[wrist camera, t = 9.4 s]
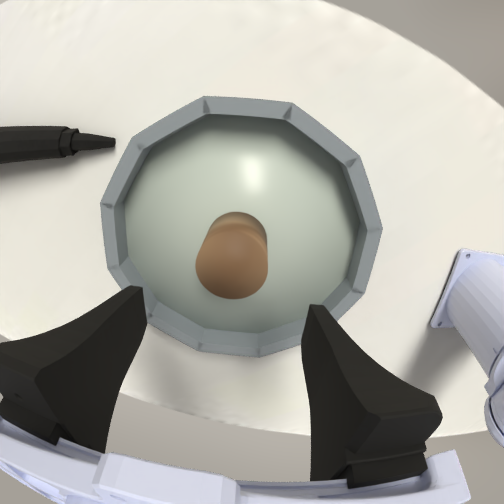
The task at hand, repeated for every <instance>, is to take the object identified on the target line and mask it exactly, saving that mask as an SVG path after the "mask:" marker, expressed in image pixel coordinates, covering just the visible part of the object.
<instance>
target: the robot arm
mask: <svg viewBox="0 0 504 504" xmlns="http://www.w3.org/2000/svg"><path fill="white" fill-rule="evenodd" d="M467 254H468V255H467ZM466 255H467V257H466ZM439 322H440V323H439ZM430 325H431V326H432V328H449V327H455V328H456V329H457V331H458V332H459V333H460V335H461V336H462V338H463V339H464V341H465V342H466V344H467V345H468V347H469V348H470V350H471V351H472V353H473V354H474V356H475V357H476V359H477V360H478V362H479V364H480V365H481V367H482V368H483V370H484V372H485V373H486V375H487V377H488V378H489V380H488V382H487V383H486V384H485V386H484V387H485V389H486V391H487V393H488V394H489V396H488V398H487V399H486V402H485V406H484V414H485V421H486V425H487V428H488V430H489V432H490V434H491V435H492V437H493V438H494V440H495V441H496V442H497V443H498V444H499V445H501V446H502V447H504V255H501V254H495V253H489V252H482V251H476V250H470V249H461V250H460V251H459V253H458V256H457V258H456V261H455V264H454V267H453V270H452V272H451V275H450V278H449V280H448V283H447V285H446V288H445V290H444V293H443V295H442V297H441V300H440V302H439V304H438V307H437V309H436V311H435V314H434V316H433V318H432V320H431V322H430ZM146 326H147V317H146V310H145V303H144V294H143V287H140V286H133V285H130V286H128V287H126V288H124V289H123V290H121V291H120V292H118V293H117V294H115V295H114V296H112V297H111V298H109V299H108V300H106V301H105V302H103V303H102V304H100V305H99V306H97V307H95V308H94V309H92V310H91V311H89V312H87V313H86V314H84V315H82V316H80V317H79V318H77V319H75V320H73V321H71V322H69V323H67V324H65V325H63V326H60V327H58V328H55V329H53V330H50V331H47V332H45V333H42V334H39V335H36V336H32V337H28V338H24V339H20V340H15V341H9V342H2V343H0V393H1V394H2V395H3V399H2V401H1V402H0V469H2V470H3V471H4V472H6V473H8V474H9V475H11V476H12V477H14V478H15V479H16V480H18V481H20V482H21V483H23V484H25V485H26V486H28V487H29V488H31V489H33V490H35V491H36V492H38V493H39V494H41V495H43V496H45V497H47V498H49V499H50V500H52V501H54V502H56V503H58V504H463V503H465V502H466V501H468V500H469V499H470V498H471V496H470V492H469V489H468V486H467V483H466V480H465V477H464V474H463V471H462V468H461V465H460V462H459V459H458V457H457V454H456V451H455V450H454V449H452V450H449V451H445V452H442V453H438V454H435V455H432V456H430V457H428V458H426V459H425V457H424V454H423V452H425V451H426V445H425V441H426V440H427V439H428V438H429V437H430V436H431V435H432V433H433V432H434V431H435V430H436V429H437V428H438V426H439V425H440V423H441V421H442V418H443V416H442V412H441V410H440V408H439V406H438V403H437V401H436V399H435V397H434V396H433V395H431V394H428V393H426V392H424V391H422V390H420V389H417V388H415V387H413V386H411V385H410V384H408V383H406V382H404V381H403V380H401V379H399V378H398V377H396V376H395V375H393V374H392V373H390V372H389V371H387V370H386V369H385V368H383V367H382V366H381V365H379V364H378V363H377V362H376V361H374V360H373V359H372V358H371V357H370V356H369V355H367V354H366V353H365V352H364V351H363V350H362V349H361V348H360V347H359V346H358V345H357V344H356V343H355V342H354V341H353V340H352V339H351V338H350V336H349V335H348V334H347V333H346V332H345V331H344V330H343V328H342V327H341V326H340V325H339V324H338V322H337V321H336V320H335V319H334V317H333V316H332V315H331V314H330V312H329V311H328V310H327V309H326V307H325V306H324V305H316V304H310V305H309V309H308V314H307V318H306V322H305V326H304V330H303V334H302V338H301V352H302V363H303V369H304V375H305V381H306V386H307V392H308V398H309V405H310V419H311V472H310V474H311V475H310V482H256V481H240V480H234V479H232V478H229V477H227V476H224V475H222V474H217V473H212V472H208V471H202V470H195V469H189V468H183V467H177V466H172V465H167V464H162V463H158V462H153V461H149V460H145V459H141V458H137V457H133V456H129V455H125V454H119V453H114V452H111V453H106V454H105V449H106V443H107V437H108V432H109V427H110V422H111V419H112V415H113V411H114V407H115V403H116V400H117V397H118V394H119V391H120V387H121V385H122V382H123V380H124V378H125V375H126V373H127V371H128V369H129V367H130V365H131V363H132V361H133V359H134V357H135V355H136V352H137V350H138V348H139V346H140V344H141V342H142V339H143V336H144V333H145V330H146Z"/></svg>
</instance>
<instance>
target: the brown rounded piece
mask: <svg viewBox="0 0 504 504" xmlns="http://www.w3.org/2000/svg"><path fill="white" fill-rule="evenodd" d="M195 269H196V274H197V277H198V279H199V281H200V282H201V284H202V285H203V286H204V287H205V288H206V289H207V290H208V291H209V292H211V293H212V294H214V295H216V296H218V297H221V298H225V299H242V298H246V297H248V296H251V295H252V294H254V293H256V292H257V291H258V290H259V289H260V288H261V287H262V286H263V284H264V282H265V280H266V278H267V274H268V250H267V234H266V231H265V229H264V227H263V225H262V224H261V223H260V221H259V220H257V219H256V218H255V217H253V216H252V215H250V214H247V213H244V212H229V213H226V214H223V215H221V216H220V217H218V218H217V219H216V220H215V221H214V222H213V223H212V225H211V226H210V228H209V230H208V233H207V235H206V237H205V239H204V241H203V244H202V246H201V248H200V250H199V252H198V255H197V258H196V263H195Z"/></svg>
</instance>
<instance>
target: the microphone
mask: <svg viewBox="0 0 504 504" xmlns="http://www.w3.org/2000/svg"><path fill="white" fill-rule="evenodd" d="M114 145H115V138H111V137H105V136H99V135H93V134H85V133H79V130H78V129H70V128H68V127H65V126H11V127H0V164H2V163H10V162H18V161H28V160H38V159H50V158H65V157H66V156H73V155H74V154H75V153H77V152H78V151H81V150H93V149H100V148H108V147H114Z"/></svg>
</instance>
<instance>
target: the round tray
mask: <svg viewBox="0 0 504 504" xmlns="http://www.w3.org/2000/svg"><path fill="white" fill-rule="evenodd" d="M100 207H101V219H102V229H103V238H104V246H105V254H106V261H107V268H108V270H109V272H110V273H111V275H112V276H113V278H114V279H115V281H116V282H117V283H118V285H119V286H120V288H121V289H122V290H123V289H124V288H126V287H128V286H130V285H133V286H140V287H143V294H144V303H145V310H146V317H147V323H149V324H151V325H153V326H154V327H156V328H158V329H159V330H161V331H163V332H165V333H166V334H168V335H170V336H172V337H173V338H175V339H177V340H179V341H180V342H182V343H184V344H186V345H188V346H190V347H191V348H193V349H195V350H197V351H202V352H210V353H219V354H228V355H238V356H249V357H263V356H266V355H269V354H273V353H276V352H279V351H282V350H285V349H288V348H291V347H294V346H297V345H300V344H301V338H302V334H303V330H304V326H305V322H306V318H307V314H308V309H309V305H310V304H316V305H324V306H325V307H326V309H327V310H328V311H329V312H330V314H331V315H332V316H333V317H334V319H335V320H336V321H338V320H339V319H340V318H341V317H342V316H343V315H344V314H345V313H346V312H347V311H348V310H349V309H350V308H351V307H352V306H353V305H354V304H355V303H356V302H357V301H358V300H359V299H360V298H361V297H362V296H363V295H364V293H365V291H366V287H367V284H368V281H369V277H370V274H371V271H372V267H373V264H374V260H375V256H376V253H377V249H378V245H379V242H380V238H381V234H382V230H383V227H382V224H381V220H380V217H379V213H378V210H377V206H376V203H375V200H374V197H373V193H372V190H371V187H370V184H369V181H368V178H367V175H366V172H365V169H364V166H363V163H362V160H361V158H360V156H359V155H358V154H357V153H356V152H355V151H354V150H352V149H351V148H350V147H349V146H348V145H346V144H345V143H344V142H343V141H342V140H340V139H339V138H338V137H337V136H336V135H334V134H333V133H332V132H331V131H329V130H328V129H327V128H326V127H324V126H323V125H322V124H320V123H319V122H318V121H317V120H315V119H314V118H313V117H311V116H310V115H309V114H307V113H306V112H305V111H303V110H302V109H300V108H299V107H298V106H296V105H295V104H294V103H290V102H282V101H273V100H263V99H251V98H237V97H216V96H203V97H201V98H199V99H197V100H195V101H193V102H191V103H190V104H188V105H186V106H184V107H182V108H180V109H179V110H177V111H175V112H173V113H171V114H170V115H168V116H166V117H164V118H163V119H161V120H159V121H158V122H156V123H154V124H153V125H151V126H149V127H148V128H146V129H144V130H143V131H141V132H140V133H138V134H136V135H135V136H133V137H132V138H131V140H130V142H129V144H128V146H127V148H126V150H125V152H124V154H123V155H122V157H121V159H120V161H119V163H118V165H117V167H116V170H115V172H114V174H113V176H112V178H111V180H110V182H109V184H108V186H107V189H106V191H105V193H104V195H103V198H102V200H101V202H100ZM229 212H244V213H247V214H250V215H252V216H253V217H255V218H256V219H257V220H259V221H260V223H261V224H262V225H263V227H264V229H265V231H266V234H267V250H268V274H267V278H266V280H265V282H264V284H263V286H262V287H261V288H260V289H259V290H258V291H257V292H256V293H254V294H252V295H251V296H248V297H246V298H242V299H225V298H221V297H218V296H216V295H214V294H212V293H211V292H209V291H208V290H207V289H206V288H205V287H204V286H203V285H202V284H201V282H200V281H199V279H198V277H197V274H196V269H195V263H196V258H197V255H198V252H199V250H200V248H201V246H202V244H203V241H204V239H205V237H206V235H207V233H208V230H209V228H210V226H211V225H212V223H213V222H214V221H215V220H216V219H217V218H218V217H220V216H221V215H223V214H226V213H229Z"/></svg>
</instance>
